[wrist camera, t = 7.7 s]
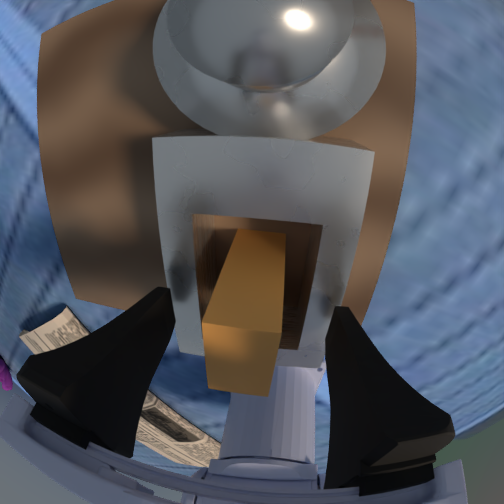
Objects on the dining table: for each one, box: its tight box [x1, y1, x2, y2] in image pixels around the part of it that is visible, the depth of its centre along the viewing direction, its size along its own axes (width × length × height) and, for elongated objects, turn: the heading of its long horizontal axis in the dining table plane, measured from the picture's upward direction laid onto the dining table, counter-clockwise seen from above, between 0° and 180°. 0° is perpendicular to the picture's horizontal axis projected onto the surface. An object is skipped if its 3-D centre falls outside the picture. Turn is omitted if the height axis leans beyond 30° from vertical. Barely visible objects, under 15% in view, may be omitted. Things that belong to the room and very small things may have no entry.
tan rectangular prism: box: [202, 229, 286, 397], centre depth 12 cm, size 4×2×7 cm, turn 176°
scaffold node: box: [152, 0, 386, 368], centre depth 10 cm, size 20×9×6 cm, turn 178°
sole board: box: [37, 0, 416, 325], centre depth 14 cm, size 21×22×2 cm
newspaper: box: [19, 305, 221, 467], centre depth 32 cm, size 37×19×3 cm, turn 28°
